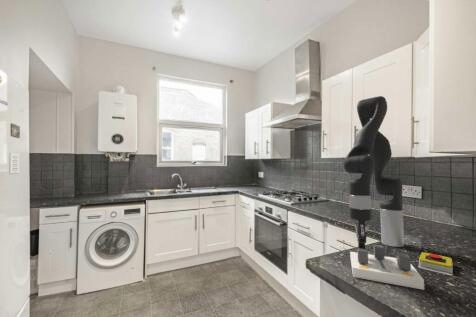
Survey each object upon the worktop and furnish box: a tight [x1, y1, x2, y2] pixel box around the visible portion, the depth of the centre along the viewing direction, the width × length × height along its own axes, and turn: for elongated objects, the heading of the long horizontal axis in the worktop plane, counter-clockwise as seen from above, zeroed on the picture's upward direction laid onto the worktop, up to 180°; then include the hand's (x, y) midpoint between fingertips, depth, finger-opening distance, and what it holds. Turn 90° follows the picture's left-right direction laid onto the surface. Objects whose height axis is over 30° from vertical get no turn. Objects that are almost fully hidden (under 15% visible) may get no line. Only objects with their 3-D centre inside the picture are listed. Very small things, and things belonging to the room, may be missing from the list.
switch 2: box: [372, 244, 385, 259], centre depth 82 cm, size 3×3×4 cm
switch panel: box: [349, 251, 425, 291], centre depth 77 cm, size 17×19×3 cm
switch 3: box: [396, 253, 412, 270], centre depth 73 cm, size 3×3×4 cm
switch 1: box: [356, 247, 369, 264], centre depth 78 cm, size 3×3×4 cm
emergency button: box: [417, 251, 454, 276], centre depth 83 cm, size 9×4×15 cm
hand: (361, 252), depth 83 cm, fingers closed
